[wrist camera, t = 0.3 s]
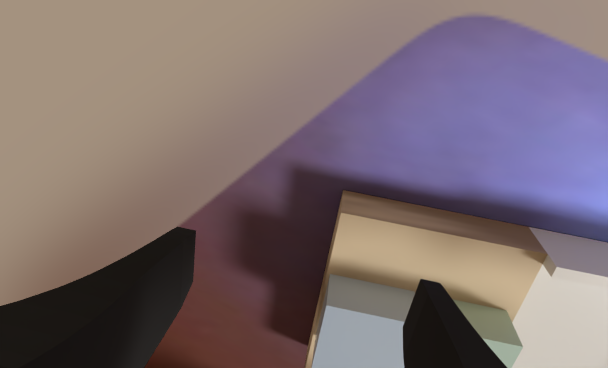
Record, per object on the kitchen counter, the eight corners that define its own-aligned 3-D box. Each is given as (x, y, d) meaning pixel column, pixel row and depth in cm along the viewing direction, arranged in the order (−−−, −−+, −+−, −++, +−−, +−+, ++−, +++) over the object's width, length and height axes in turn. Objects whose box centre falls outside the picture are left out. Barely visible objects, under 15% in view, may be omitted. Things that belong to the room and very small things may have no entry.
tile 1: (476, 369, 23) (488, 408, 21) (398, 352, 23) (401, 389, 21) (506, 310, 21) (523, 347, 19) (420, 292, 21) (426, 326, 19)
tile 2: (392, 351, 23) (395, 388, 21) (315, 335, 23) (311, 369, 21) (414, 291, 21) (420, 325, 19) (329, 273, 21) (326, 305, 19)
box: (640, 418, 26) (678, 476, 23) (456, 378, 27) (468, 429, 24) (761, 273, 21) (831, 322, 18) (528, 226, 22) (556, 267, 18)
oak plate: (456, 378, 27) (464, 413, 25) (307, 346, 27) (303, 378, 25) (528, 226, 22) (548, 254, 19) (343, 190, 22) (340, 212, 20)
